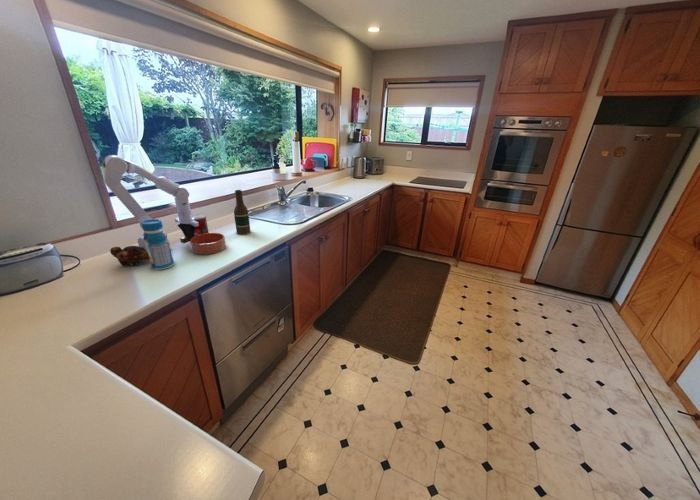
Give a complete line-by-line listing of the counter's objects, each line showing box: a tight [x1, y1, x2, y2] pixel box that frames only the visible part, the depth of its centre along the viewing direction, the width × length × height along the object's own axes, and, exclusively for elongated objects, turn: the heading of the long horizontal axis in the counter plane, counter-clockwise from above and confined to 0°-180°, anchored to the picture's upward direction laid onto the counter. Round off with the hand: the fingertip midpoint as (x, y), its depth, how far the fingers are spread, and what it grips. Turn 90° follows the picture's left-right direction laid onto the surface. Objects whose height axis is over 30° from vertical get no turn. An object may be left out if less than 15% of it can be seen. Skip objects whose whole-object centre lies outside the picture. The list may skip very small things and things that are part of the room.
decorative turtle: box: [109, 245, 150, 267], centre depth 120 cm, size 10×15×8 cm, turn 104°
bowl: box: [189, 232, 227, 255], centre depth 136 cm, size 15×15×6 cm
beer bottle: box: [233, 189, 251, 236], centre depth 154 cm, size 8×8×24 cm
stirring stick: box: [179, 233, 199, 244], centre depth 141 cm, size 9×2×2 cm, turn 155°
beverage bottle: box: [141, 218, 175, 271], centre depth 116 cm, size 8×8×20 cm
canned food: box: [192, 213, 210, 235], centre depth 150 cm, size 8×8×11 cm
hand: (189, 237), depth 141 cm, fingers closed on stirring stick, 2 cm apart
